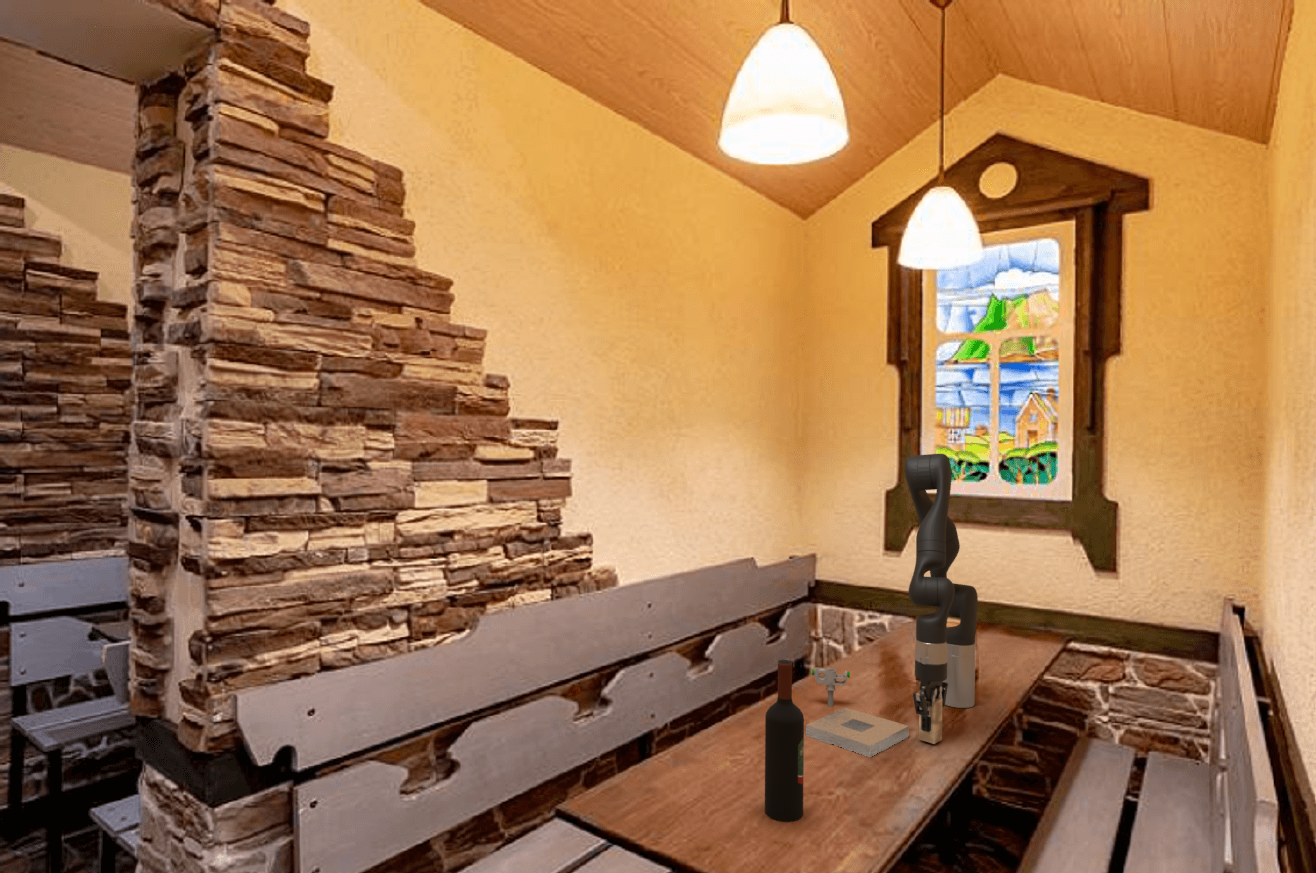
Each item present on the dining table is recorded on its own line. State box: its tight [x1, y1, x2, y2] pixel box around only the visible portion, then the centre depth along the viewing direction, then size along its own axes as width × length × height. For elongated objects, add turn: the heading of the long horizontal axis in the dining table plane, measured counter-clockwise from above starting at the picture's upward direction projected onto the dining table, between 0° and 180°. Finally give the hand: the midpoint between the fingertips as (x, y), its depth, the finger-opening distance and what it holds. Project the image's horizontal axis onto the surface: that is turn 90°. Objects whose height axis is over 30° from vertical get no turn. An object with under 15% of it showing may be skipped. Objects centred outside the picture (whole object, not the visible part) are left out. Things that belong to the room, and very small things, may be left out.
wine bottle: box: [764, 659, 805, 823], centre depth 157 cm, size 8×8×30 cm
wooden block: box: [918, 698, 943, 745], centre depth 193 cm, size 4×4×10 cm
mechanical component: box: [811, 666, 851, 708], centre depth 218 cm, size 3×10×10 cm, turn 78°
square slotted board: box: [805, 707, 910, 759], centre depth 196 cm, size 18×18×3 cm
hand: (930, 728), depth 193 cm, fingers closed on wooden block, 4 cm apart
